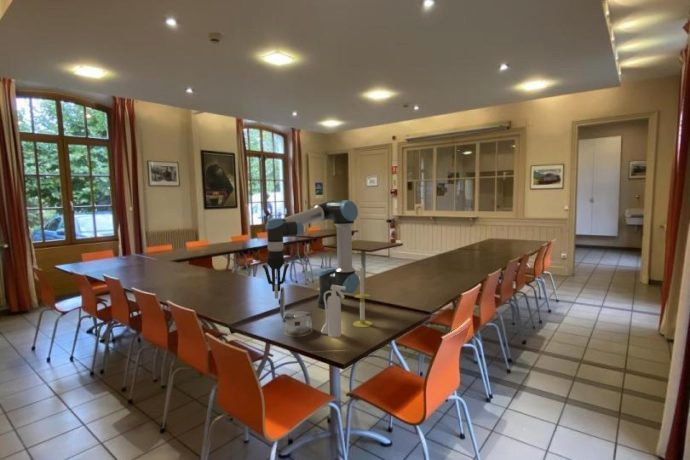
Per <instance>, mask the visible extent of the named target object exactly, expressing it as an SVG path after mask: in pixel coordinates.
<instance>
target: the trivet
mask: <svg viewBox="0 0 690 460" xmlns="http://www.w3.org/2000/svg"><path fill="white" fill-rule="evenodd" d="M313 331H314V329H313V328H312V331H311V332H310V333H309V334H306V335H302V336H301V337H304V336H308V335H310V334H312V333H313ZM284 334H285V335H286V336H290V337H292V336H291V335H288V334H286V333H285V330H284Z"/></svg>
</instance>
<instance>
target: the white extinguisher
mask: <svg viewBox="0 0 690 460" xmlns="http://www.w3.org/2000/svg"><path fill="white" fill-rule="evenodd" d="M330 289H332V291H327V292H325V293H324V303H325V309H324V311H325V322H324V324H323V326H322V328H321V330H320V333H322V334H324V335H327V336H328V337H330V338H339V337H341V336H342V312H341V311H342V309H341V308H342V305H341V301H342V300H343V299H345V293H344V292H342V291H341V290H345V289H346V287H344V286H338V285H331V288H330ZM336 291H337V292H338V293H339V295H340V297H339V296H336ZM327 293H331V296H329V297H328V300H327V303H326V299H325V297H326V294H327ZM340 298H341V299H340Z"/></svg>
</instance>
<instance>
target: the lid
mask: <svg viewBox="0 0 690 460" xmlns="http://www.w3.org/2000/svg"><path fill="white" fill-rule="evenodd" d="M285 295H286V293H285V287H283V286H282V287H281V286H280V295H279V298H278V305H279V312H280V317H281V319H283V318H284V317H285V307H286V306H285V304H286V301H285V300H286V299H285V298H286V296H285Z"/></svg>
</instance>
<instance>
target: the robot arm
mask: <svg viewBox="0 0 690 460" xmlns="http://www.w3.org/2000/svg"><path fill="white" fill-rule="evenodd" d="M358 210H359V209H358V207H357V205H356V203H354V201H352V200H347V199H344V200H343V199H342V200H338V199H337V200H329V201H325V202H323V203H319V204H317V205H315V206H313V207H312V208H311V209H306V210H304V211H301V212H298V213H295V214H292V215H291V214H290V215H289V216H286V217H283V218H279V217H277V218H276V217H275V218H274V217H272V218H271V217H270V218H268V219H267V222H266V224H265V227H264V228H265V232H266V235H267V238H266V239H267V260H266V263H263V264H262V268H263V269H264V272H265V276H266V279H267V283H268V284H269V285H271V287H272V289H271V290H272V292H274V299H275V300H276V299H278V300H279V292H281V285H283V284H284V282H285V279H286V275H287V271H288V268H289V267H290V264H289V263H288V262H285V259H284V255H285V253H284V250H283V249H284V238H286V237H287V238H288V237H299V236H301V235H302V234H303V233H304V226H306V225H309V224H312V223H314V222H322V221H333V225H334V226H335V227H336V242H337V243H336V250H337V251H336V253H337V254H336V255H337V267H329V268H323V269H320V270H319V274H318V277H319V278H318V280H319V281H318V283H319V284H318V285H319V295H318V298H317V301H316V303H317V307H318V308H320V309H324V310H325V303H324V293H325V292H327V291H332V289H330V288H331V285H338V286H344V287H346V289H345V290H341V291H342V293H343V294H352V293H355V292H356V291H357V289H358V287H359V286H360V276H359V275H358V274H357V273H356V269H355V268H354V267H353V246H352V244H353V242H352V241H353V240H352V226H353V225H354V224H355V221H356V220H357V217H358V215H359V211H358ZM268 267H269V268H270V269H271V275H270V271H269V268H268ZM282 267H283V268H284V269H283V273H282V277H281V269H282ZM276 273H277V274H276ZM276 276H277V277H276ZM276 279H277V280H276ZM276 281H277V282H276ZM329 296H331V293H327V294H326V297H325V299H326V303H327V300H328V297H329ZM336 296H339V297H340V299H341V306H342V305H343V304H342V303H343V301H342V298H341V296H340V294H339V293H338V292H337V291H336Z"/></svg>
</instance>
